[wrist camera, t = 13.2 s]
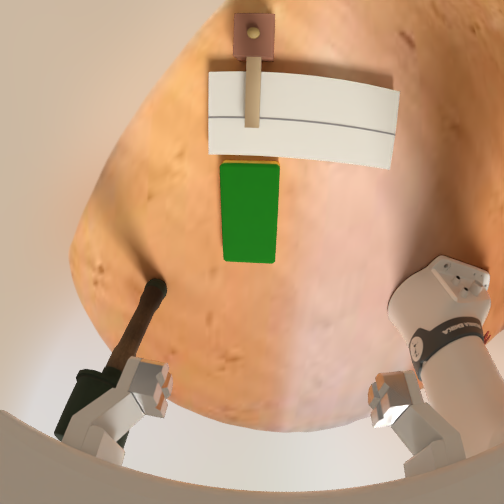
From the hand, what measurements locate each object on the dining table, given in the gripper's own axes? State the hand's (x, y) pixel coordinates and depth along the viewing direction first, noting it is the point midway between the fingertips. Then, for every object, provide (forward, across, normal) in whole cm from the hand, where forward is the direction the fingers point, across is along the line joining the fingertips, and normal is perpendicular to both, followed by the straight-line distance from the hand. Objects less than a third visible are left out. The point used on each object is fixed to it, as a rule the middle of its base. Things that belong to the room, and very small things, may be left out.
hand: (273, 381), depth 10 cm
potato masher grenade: (+29, +18, +20) cm, 40 cm away
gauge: (+29, +3, -12) cm, 32 cm away
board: (+29, -3, -7) cm, 30 cm away
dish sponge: (+30, +3, +6) cm, 31 cm away
